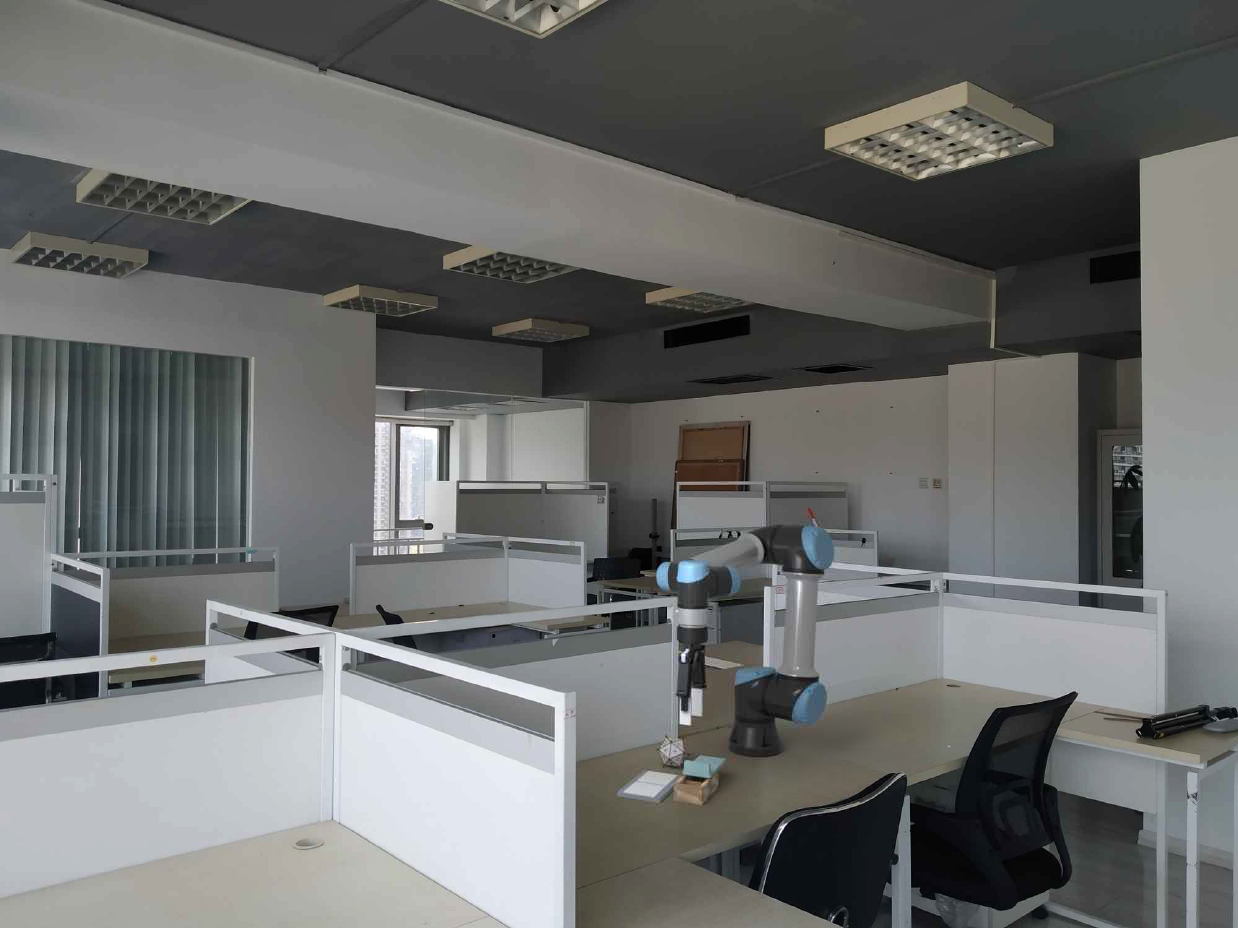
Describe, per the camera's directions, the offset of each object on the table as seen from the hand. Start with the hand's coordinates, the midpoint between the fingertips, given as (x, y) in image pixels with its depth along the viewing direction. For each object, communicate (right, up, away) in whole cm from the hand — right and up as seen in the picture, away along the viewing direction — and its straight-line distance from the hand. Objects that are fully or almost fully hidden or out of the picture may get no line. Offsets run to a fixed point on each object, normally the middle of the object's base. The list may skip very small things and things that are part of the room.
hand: (691, 719), depth 216 cm
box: (+2, -19, +4) cm, 20 cm away
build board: (-9, -19, +8) cm, 23 cm away
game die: (-3, -20, +25) cm, 32 cm away
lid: (+4, -15, +11) cm, 19 cm away
